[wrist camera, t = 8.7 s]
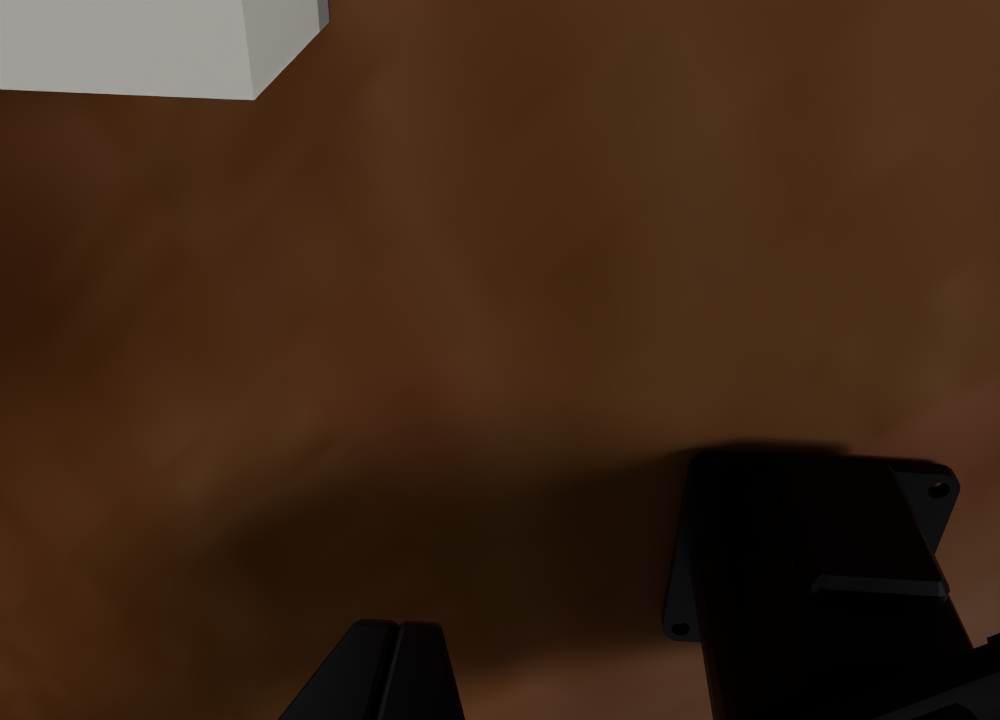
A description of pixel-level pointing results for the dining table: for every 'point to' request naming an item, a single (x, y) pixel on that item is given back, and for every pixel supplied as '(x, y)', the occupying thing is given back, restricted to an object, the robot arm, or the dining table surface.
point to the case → (154, 45)
